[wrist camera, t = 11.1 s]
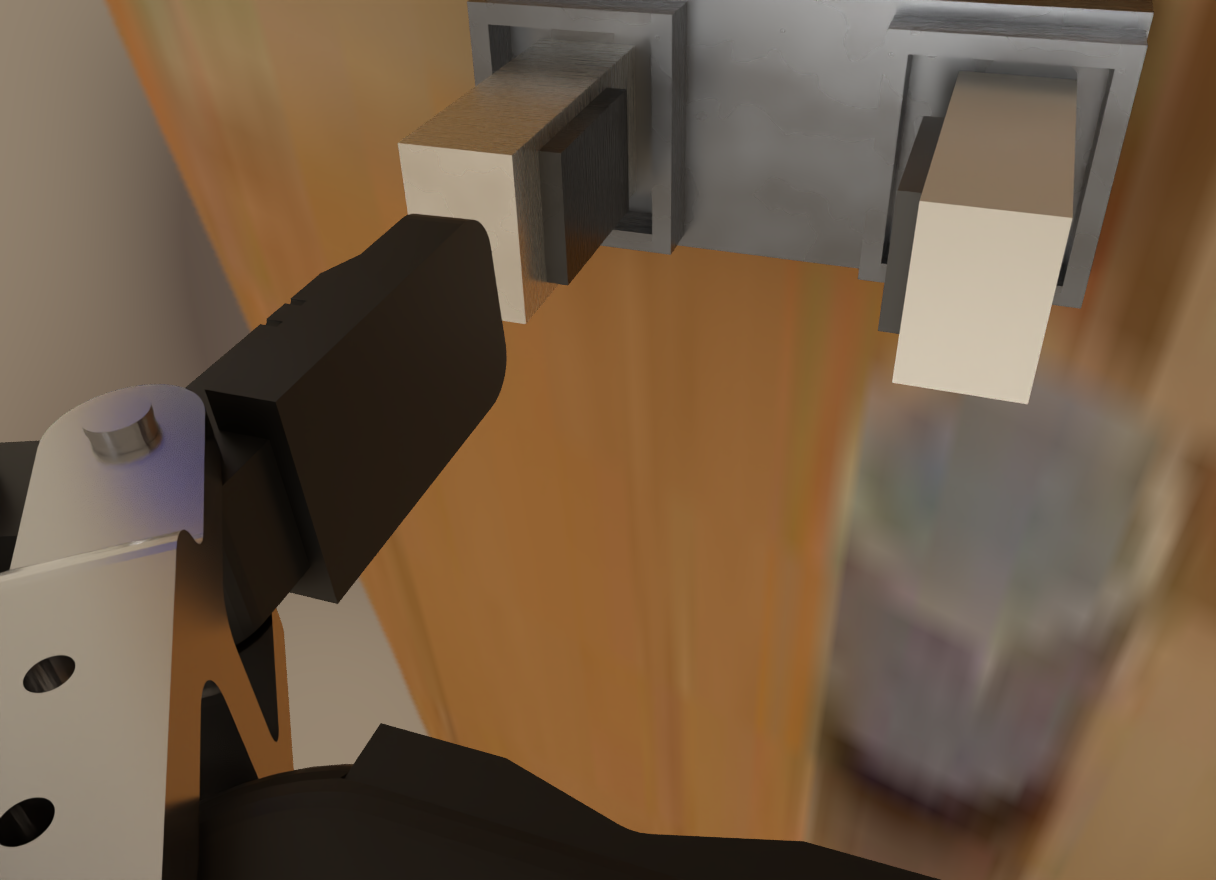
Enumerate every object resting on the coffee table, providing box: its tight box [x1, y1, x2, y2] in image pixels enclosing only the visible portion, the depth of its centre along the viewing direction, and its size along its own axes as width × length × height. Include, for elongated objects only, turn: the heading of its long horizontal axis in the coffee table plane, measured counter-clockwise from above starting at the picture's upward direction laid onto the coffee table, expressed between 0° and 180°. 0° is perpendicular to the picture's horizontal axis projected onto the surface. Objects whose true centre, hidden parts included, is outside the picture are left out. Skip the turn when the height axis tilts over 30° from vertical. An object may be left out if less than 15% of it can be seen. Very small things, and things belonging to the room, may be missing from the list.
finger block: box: [878, 71, 1077, 404], centre depth 27 cm, size 4×4×9 cm
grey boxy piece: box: [398, 0, 1154, 324], centre depth 29 cm, size 18×8×10 cm, turn 92°
